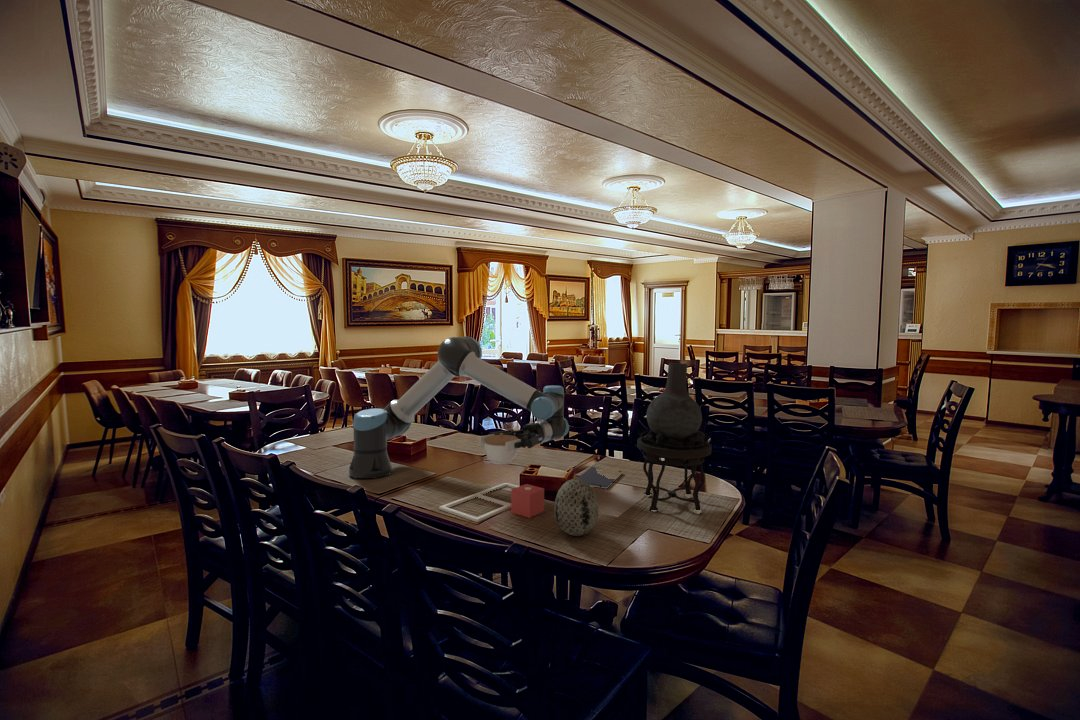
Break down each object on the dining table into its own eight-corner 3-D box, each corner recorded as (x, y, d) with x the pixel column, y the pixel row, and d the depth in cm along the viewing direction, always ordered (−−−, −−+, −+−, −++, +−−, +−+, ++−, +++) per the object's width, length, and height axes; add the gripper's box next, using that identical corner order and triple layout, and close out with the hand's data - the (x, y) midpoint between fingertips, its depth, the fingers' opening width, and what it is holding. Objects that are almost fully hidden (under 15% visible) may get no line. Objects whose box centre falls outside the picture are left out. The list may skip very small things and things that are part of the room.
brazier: (630, 511, 151) (634, 363, 148) (641, 489, 172) (645, 359, 169) (708, 522, 143) (714, 366, 140) (709, 497, 164) (715, 362, 161)
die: (525, 506, 154) (526, 483, 153) (543, 511, 149) (544, 487, 149) (511, 512, 148) (511, 488, 148) (529, 518, 144) (529, 493, 143)
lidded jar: (516, 467, 153) (516, 437, 153) (482, 466, 154) (482, 436, 153) (519, 458, 164) (519, 430, 164) (487, 457, 164) (487, 429, 164)
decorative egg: (565, 546, 125) (567, 488, 124) (546, 529, 136) (547, 475, 135) (605, 539, 130) (607, 483, 129) (584, 523, 141) (585, 471, 140)
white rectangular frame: (505, 484, 174) (505, 482, 174) (541, 494, 165) (541, 492, 165) (439, 509, 150) (439, 506, 150) (477, 522, 140) (477, 519, 140)
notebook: (591, 470, 195) (572, 485, 176) (591, 466, 195) (572, 481, 176) (623, 475, 190) (606, 491, 171) (623, 470, 190) (607, 486, 170)
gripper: (563, 448, 166) (520, 462, 148) (511, 438, 180) (467, 450, 163) (563, 426, 165) (521, 437, 148) (511, 418, 180) (467, 427, 162)
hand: (492, 444), depth 155 cm, fingers closed on lidded jar, 11 cm apart
